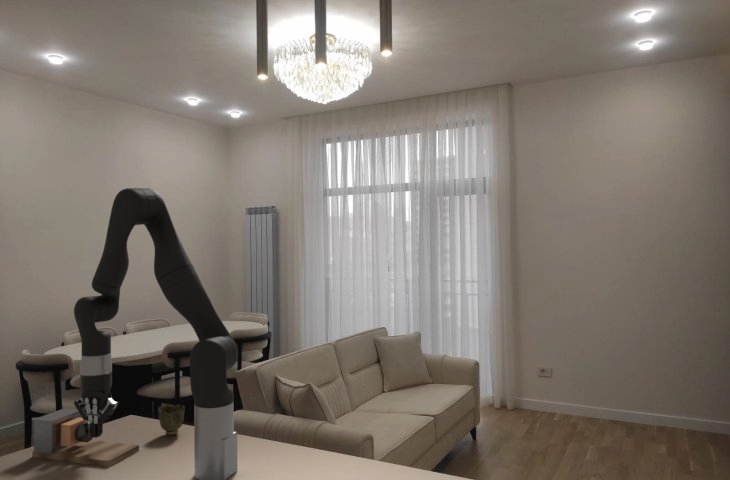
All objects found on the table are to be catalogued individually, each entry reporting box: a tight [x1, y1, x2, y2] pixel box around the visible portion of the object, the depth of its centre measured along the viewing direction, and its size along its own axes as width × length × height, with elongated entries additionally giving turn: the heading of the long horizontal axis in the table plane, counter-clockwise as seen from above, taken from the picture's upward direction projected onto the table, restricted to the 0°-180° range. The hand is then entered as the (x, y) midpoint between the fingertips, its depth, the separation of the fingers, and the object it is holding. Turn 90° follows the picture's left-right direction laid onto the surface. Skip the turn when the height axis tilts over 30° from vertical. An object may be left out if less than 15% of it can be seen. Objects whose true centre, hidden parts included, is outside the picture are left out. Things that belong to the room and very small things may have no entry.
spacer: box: [61, 417, 89, 447], centre depth 144 cm, size 3×6×6 cm, turn 164°
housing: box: [33, 407, 82, 454], centre depth 146 cm, size 6×10×8 cm, turn 164°
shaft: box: [75, 421, 94, 442], centre depth 145 cm, size 12×5×5 cm, turn 74°
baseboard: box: [31, 439, 140, 468], centre depth 144 cm, size 24×11×2 cm, turn 74°
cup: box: [157, 403, 186, 437], centre depth 158 cm, size 8×7×8 cm
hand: (96, 436), depth 143 cm, fingers closed
